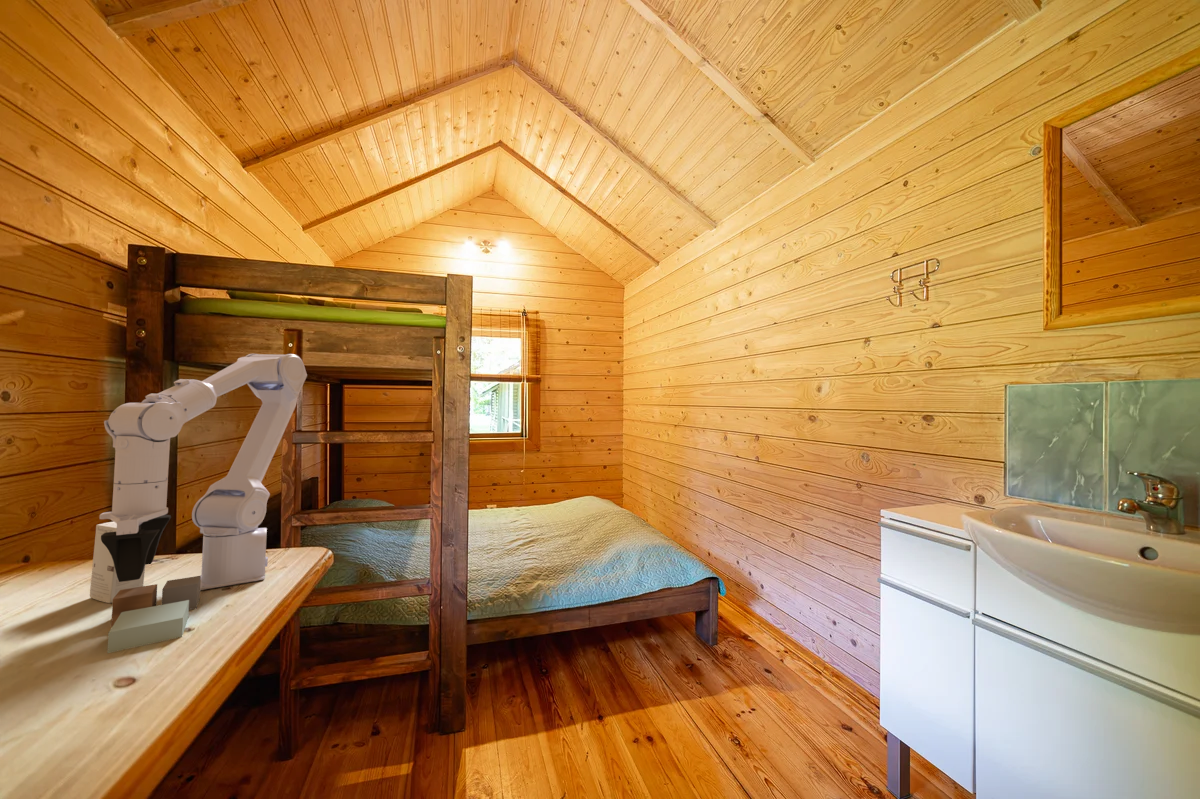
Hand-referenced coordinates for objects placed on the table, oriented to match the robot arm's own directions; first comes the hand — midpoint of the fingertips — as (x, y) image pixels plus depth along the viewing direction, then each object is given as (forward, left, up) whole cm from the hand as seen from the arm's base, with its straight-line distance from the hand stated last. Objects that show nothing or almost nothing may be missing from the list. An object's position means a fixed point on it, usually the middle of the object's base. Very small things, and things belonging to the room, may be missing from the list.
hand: (136, 572), depth 66 cm
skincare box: (+4, -12, -7) cm, 15 cm away
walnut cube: (0, 0, -7) cm, 7 cm away
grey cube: (-5, -1, -7) cm, 9 cm away
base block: (-3, +8, -7) cm, 11 cm away
